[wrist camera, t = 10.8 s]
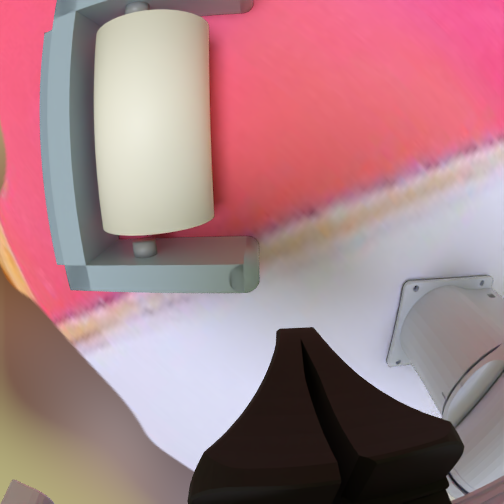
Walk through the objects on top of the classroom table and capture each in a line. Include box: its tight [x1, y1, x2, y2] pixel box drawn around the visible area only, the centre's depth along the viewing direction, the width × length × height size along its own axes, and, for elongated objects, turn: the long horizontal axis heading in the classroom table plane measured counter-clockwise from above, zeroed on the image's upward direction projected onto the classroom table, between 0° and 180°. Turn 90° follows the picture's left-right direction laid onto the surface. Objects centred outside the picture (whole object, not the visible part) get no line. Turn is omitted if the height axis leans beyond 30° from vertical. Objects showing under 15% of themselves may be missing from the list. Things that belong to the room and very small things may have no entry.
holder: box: [40, 0, 260, 293], centre depth 16 cm, size 15×18×5 cm
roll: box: [94, 9, 214, 236], centre depth 15 cm, size 12×6×6 cm, turn 1°
